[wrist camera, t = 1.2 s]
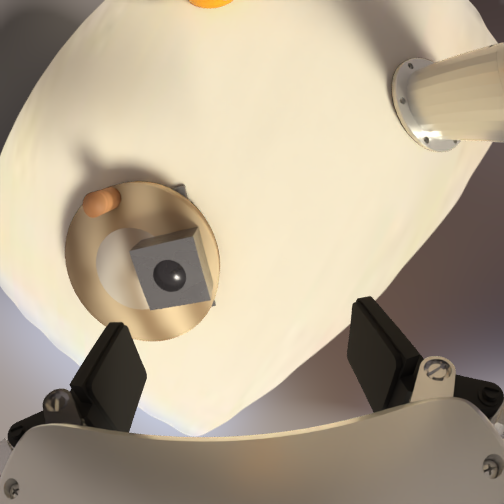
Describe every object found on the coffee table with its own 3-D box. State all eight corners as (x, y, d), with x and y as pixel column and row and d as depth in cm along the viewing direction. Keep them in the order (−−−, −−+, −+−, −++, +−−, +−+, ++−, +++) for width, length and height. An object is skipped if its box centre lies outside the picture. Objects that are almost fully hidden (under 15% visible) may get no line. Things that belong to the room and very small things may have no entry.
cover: (198, 226, 25) (193, 236, 22) (213, 283, 27) (210, 300, 24) (141, 239, 25) (128, 251, 22) (159, 293, 27) (150, 310, 24)
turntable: (198, 161, 26) (186, 161, 19) (236, 318, 31) (236, 352, 25) (58, 206, 26) (25, 218, 20) (107, 336, 32) (89, 365, 26)
